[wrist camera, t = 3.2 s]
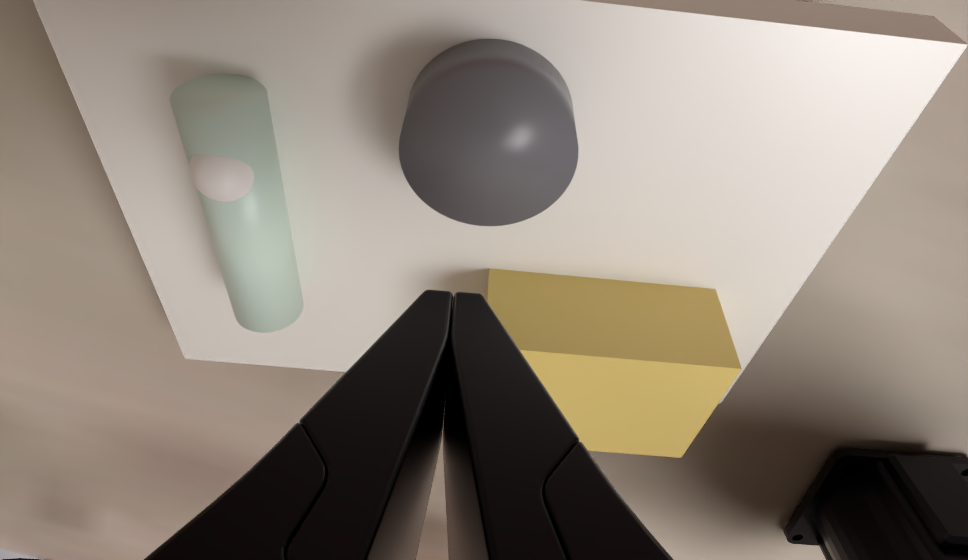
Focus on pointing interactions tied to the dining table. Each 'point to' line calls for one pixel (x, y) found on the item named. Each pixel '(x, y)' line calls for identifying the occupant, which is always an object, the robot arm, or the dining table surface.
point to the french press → (20, 559)
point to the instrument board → (649, 148)
